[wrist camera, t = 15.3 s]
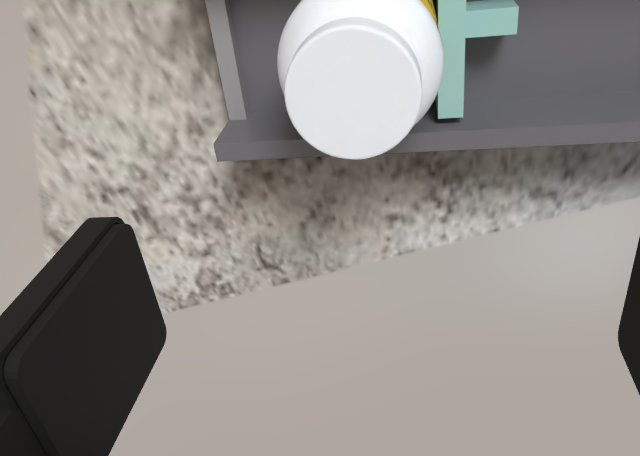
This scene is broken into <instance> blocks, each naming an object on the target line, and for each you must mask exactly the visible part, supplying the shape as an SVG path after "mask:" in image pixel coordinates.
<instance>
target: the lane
mask: <svg viewBox="0 0 640 456" xmlns="http://www.w3.org/2000/svg"><path fill="white" fill-rule="evenodd" d="M300 1H301V0H205V3H206V8H207V13H208V18H209V23H210V28H211V33H212V38H213V43H214V48H215V52H216V57H217V62H218V67H219V72H220V77H221V82H222V87H223V92H224V97H225V102H226V106H227V111H228V116H229V122H228V123H227V125H226V126H225V128H224V129H223V131H222V132H221V133H220V135H219V136H218V138H217V139H216V141H215V142H214V149H215V153H216V158H217V162H219V161H240V160H261V159H282V158H304V157H325V156H330V155H328V154H325V153H323V152H321V151H319V150H317V149H316V148H314V147H313V146H311V145H310V144H309V143H308V142H307V141H306V140H304V139H303V138H302V136H301V135H300V134H299V133H298V131H297V130H296V128H295V127H294V126H293V124H292V122H291V119H290V117H289V115H288V112H287V109H286V104H285V97H284V94H283V91H282V88H281V85H280V81H279V76H278V67H277V56H278V47H279V42H280V38H281V35H282V32H283V29H284V27H285V25H286V23H287V21H288V19H289V17H290V16H291V14H292V13H293V11H294V10H295V8H296V7H297V5H298V4H299V3H300ZM471 1H483V0H466V2H471ZM514 1H515V3H516V4H517V5H518V6H519V12H518V26H517V34H512V35H499V36H486V37H474V38H465V71H464V109H463V117H460V118H443V119H438V115H437V108H436V101H435V100H434V101H433V103H432V105H431V107H430V108H429V110H428V111H427V112H426V114H425V115H424V116H423V117H422V118H421V119H420V121H419V122H418V123H416V124H415V125H414V126H413V128H412V129H411V130H410V132H409V133H408V134H407V136H406V137H405V138H404V139H403V140H402V141H401V142H400V143H399V144H397V145H396V146H395V147H393V148H392V149H390V150H388V151H387V152H385V153H382V154H388V153H409V152H430V151H452V150H473V149H494V148H515V147H536V146H557V145H578V144H600V143H621V142H640V0H514ZM433 4H434V9H435V0H433Z"/></svg>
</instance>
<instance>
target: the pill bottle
mask: <svg viewBox="0 0 640 456" xmlns="http://www.w3.org/2000/svg"><path fill="white" fill-rule="evenodd" d="M277 67H278V76H279V81H280V85H281V88H282V91H283V94H284V97H285V104H286V109H287V112H288V115H289V117H290V119H291V122H292V124H293V126H294V127H295V128H296V130H297V131H298V133H299V134H300V135H301V136H302V138H303V139H304V140H306V141H307V142H308V143H309V144H310V145H311V146H313V147H314V148H316V149H317V150H319V151H321V152H323V153H325V154H328V155H330V156H334V157H338V158H343V159H353V160H356V159H367V158H371V157H374V156H377V155H380V154H382V153H385V152H387V151H388V150H390V149H392V148H393V147H395V146H396V145H397V144H399V143H400V142H401V141H402V140H403V139H404V138H405V137H406V136H407V134H408V133H409V132H410V130H411V129H412V128H413V126H414V125H415V124H416V123H418V122H419V121H420V119H421V118H422V117H423V116H424V115H425V114H426V112H427V111H428V110H429V108H430V107H431V105H432V103H433V101H434V100H435V97H436V95H437V93H438V90H439V87H440V84H441V80H442V75H443V67H444V54H443V46H442V40H441V36H440V32H439V28H438V23H437V18H436V13H435V9H434V4H433V0H301V1H300V3H299V4H298V5H297V7H296V8H295V10H294V11H293V13H292V14H291V16H290V17H289V19H288V21H287V23H286V25H285V27H284V29H283V32H282V35H281V38H280V42H279V47H278V56H277Z"/></svg>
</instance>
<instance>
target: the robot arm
mask: <svg viewBox="0 0 640 456" xmlns="http://www.w3.org/2000/svg"><path fill="white" fill-rule="evenodd" d="M165 340H166V326H165V323H164V320H163V317H162V314H161V311H160V308H159V305H158V302H157V299H156V296H155V293H154V290H153V287H152V284H151V281H150V278H149V275H148V272H147V269H146V266H145V263H144V260H143V257H142V254H141V252H140V249H139V246H138V243H137V240H136V237H135V234H134V231H133V229H132V227H131V226H130V225H128V224H125V223H124V222H123V220H122V219H121V218H119V217H99V218H89V219H87V220H86V221H85V222H84V223H83V224H82V225H81V226H80V227H79V229H78V230H77V231H76V232H75V233H74V234H73V235H72V236H71V238H70V239H69V240H68V241H67V242H66V243H65V244H64V245H63V246H62V248H61V249H60V250H59V251H58V252H57V253H56V254H55V255H54V256H53V258H52V259H51V260H50V261H49V262H48V263H47V264H46V265H45V267H44V268H43V269H42V270H41V271H40V272H39V273H38V274H37V276H36V277H35V278H34V279H33V280H32V281H31V282H30V283H29V284H28V285H27V287H26V288H25V289H24V290H23V291H22V292H21V294H20V295H19V296H18V297H17V298H16V299H15V300H14V301H13V302H12V303H11V305H10V306H9V307H8V308H7V309H6V310H5V311H4V312H3V313H2V315H1V316H0V456H108V455H109V453H110V451H111V449H112V447H113V445H114V443H115V441H116V439H117V437H118V435H119V433H120V431H121V429H122V427H123V425H124V423H125V421H126V419H127V417H128V415H129V413H130V411H131V409H132V407H133V405H134V403H135V402H136V400H137V397H138V395H139V394H140V392H141V389H142V388H143V386H144V383H145V382H146V380H147V378H148V376H149V374H150V372H151V370H152V368H153V366H154V364H155V362H156V360H157V358H158V356H159V354H160V352H161V350H162V348H163V346H164V343H165ZM618 341H619V347H620V350H621V353H622V355H623V357H624V360H625V362H626V364H627V367H628V369H629V371H630V374H631V376H632V378H633V381H634V383H635V385H636V388H637V389H638V392H639V394H640V238H639V242H638V247H637V251H636V255H635V260H634V264H633V268H632V273H631V277H630V282H629V286H628V290H627V295H626V299H625V304H624V308H623V312H622V317H621V321H620V325H619V331H618Z"/></svg>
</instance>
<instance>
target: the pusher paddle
mask: <svg viewBox="0 0 640 456" xmlns="http://www.w3.org/2000/svg"><path fill="white" fill-rule="evenodd" d="M518 12H519V6H518V5H517V4H516V3H515V1H514V0H483V1H471V2H466V0H435V13H436V18H437V23H438V28H439V32H440V36H441V40H442V46H443V54H444V67H443V75H442V80H441V84H440V87H439V90H438V93H437V95H436V97H435V101H436V108H437V115H438V119H443V118H460V117H463V109H464V71H465V38H474V37H486V36H499V35H512V34H517V26H518Z"/></svg>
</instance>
